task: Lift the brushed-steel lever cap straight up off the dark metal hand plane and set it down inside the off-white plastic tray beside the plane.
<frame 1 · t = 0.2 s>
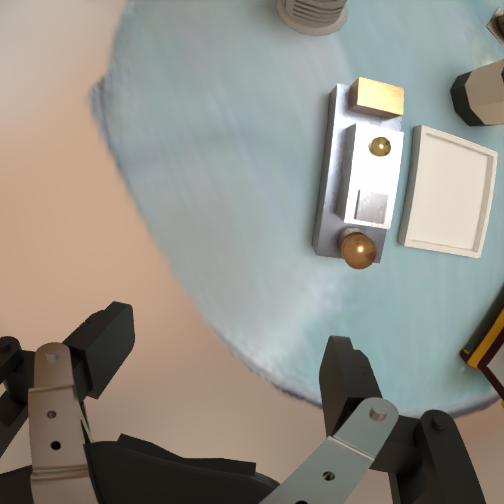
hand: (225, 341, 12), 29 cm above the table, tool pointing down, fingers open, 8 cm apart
plane body: (352, 172, 36), on the table
french press: (305, 7, 30), on the table
lever cap: (363, 174, 32), point 5 cm above the table, touching plane body
tray: (448, 193, 36), on the table
wine bottle: (470, 101, 31), on the table
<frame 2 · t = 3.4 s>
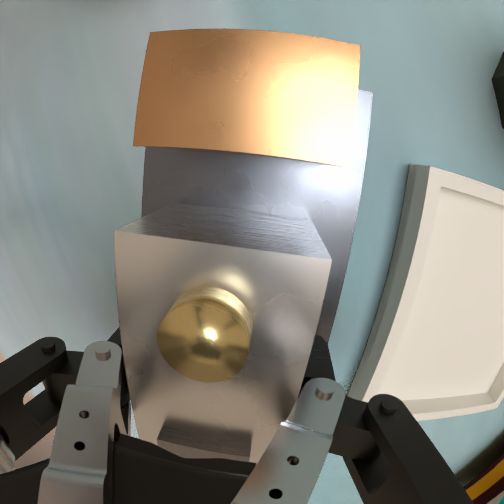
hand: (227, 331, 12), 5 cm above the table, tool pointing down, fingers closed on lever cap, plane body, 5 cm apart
plane body: (245, 284, 17), on the table
lever cap: (228, 330, 12), point 5 cm above the table, touching gripper
tray: (467, 308, 16), on the table
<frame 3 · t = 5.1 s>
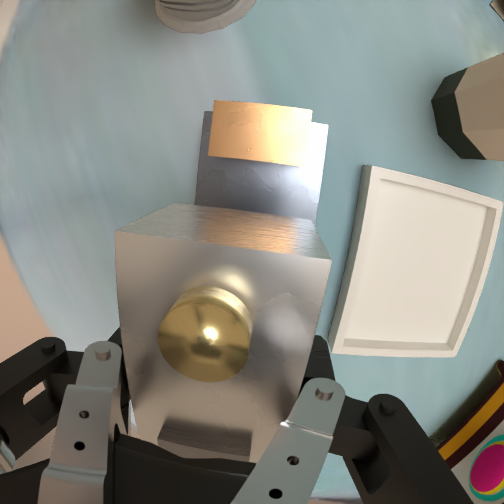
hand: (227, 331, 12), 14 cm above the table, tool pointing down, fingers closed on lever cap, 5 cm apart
plane body: (254, 246, 26), on the table
decorative lantern: (485, 413, 30), on the table
lever cap: (229, 330, 12), point 14 cm above the table, touching gripper
tray: (416, 268, 25), on the table
wine bottle: (465, 117, 21), on the table
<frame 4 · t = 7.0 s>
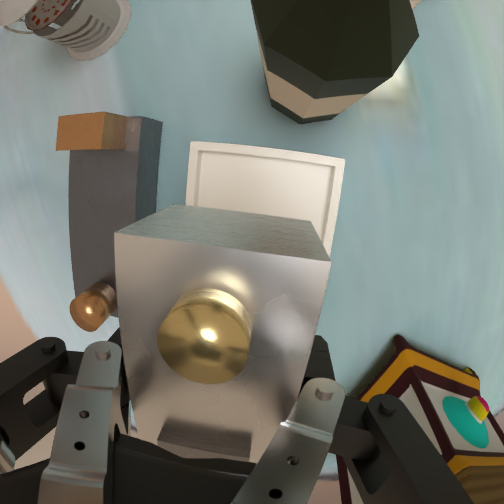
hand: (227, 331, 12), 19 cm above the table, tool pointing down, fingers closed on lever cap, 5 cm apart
plane body: (123, 213, 31), on the table
french press: (91, 28, 25), on the table
decorative lantern: (400, 395, 36), on the table
lever cap: (228, 331, 12), point 19 cm above the table, touching gripper
tray: (258, 228, 31), on the table
wine bottle: (306, 85, 26), on the table
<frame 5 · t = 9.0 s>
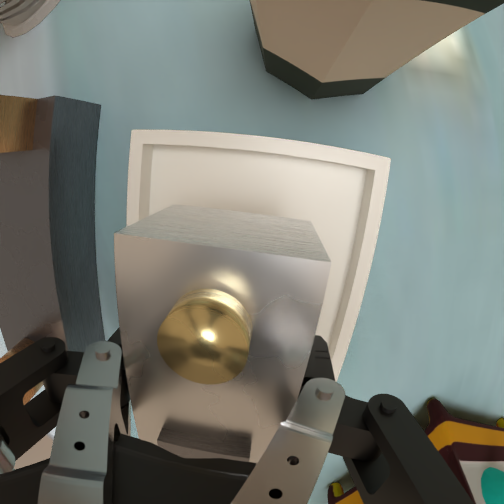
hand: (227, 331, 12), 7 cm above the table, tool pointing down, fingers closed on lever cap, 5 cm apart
plane body: (55, 240, 20), on the table
decorative lantern: (423, 455, 25), on the table
lever cap: (228, 332, 12), point 7 cm above the table, touching gripper
tray: (246, 268, 19), on the table
wine bottle: (322, 41, 15), on the table
when the fingers open (3 cm above the table, at t = 10.5 s): lever cap drops 2 cm, resting on tray.
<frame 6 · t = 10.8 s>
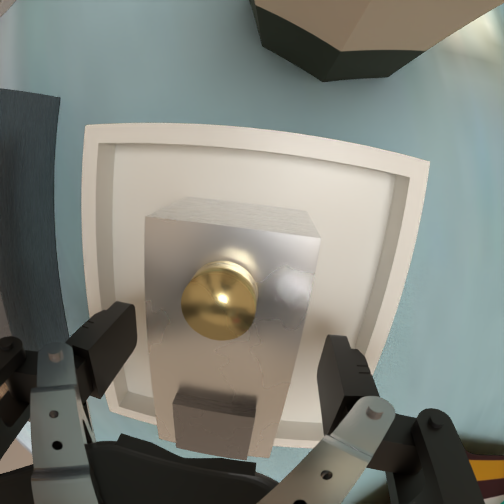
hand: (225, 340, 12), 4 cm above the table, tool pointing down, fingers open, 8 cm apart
plane body: (17, 258, 16), on the table
decorative lantern: (433, 484, 21), on the table
lever cap: (235, 310, 14), point 1 cm above the table, touching tray
tray: (236, 301, 15), on the table
wine bottle: (334, 11, 11), on the table
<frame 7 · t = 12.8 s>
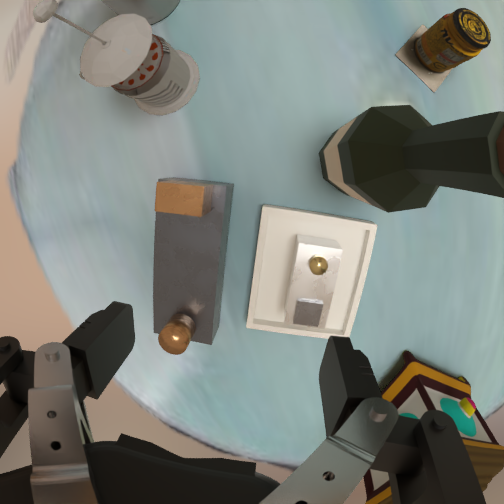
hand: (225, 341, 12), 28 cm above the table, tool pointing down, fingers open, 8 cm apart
plane body: (195, 255, 40), on the table
french press: (158, 82, 35), on the table
decorative lantern: (406, 398, 44), on the table
lever cap: (309, 275, 38), point 1 cm above the table, touching tray
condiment: (427, 57, 30), on the table
tray: (308, 272, 39), on the table
wine bottle: (350, 161, 35), on the table
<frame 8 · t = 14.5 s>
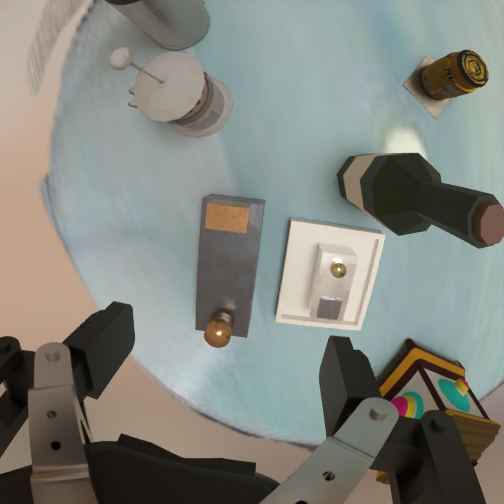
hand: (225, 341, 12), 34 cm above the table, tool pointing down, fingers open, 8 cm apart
plane body: (231, 261, 47), on the table
french press: (194, 106, 41), on the table
decorative lantern: (409, 380, 52), on the table
lever cap: (328, 276, 45), point 1 cm above the table, touching tray
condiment: (431, 85, 36), on the table
tray: (327, 274, 46), on the table
wine bottle: (363, 180, 42), on the table
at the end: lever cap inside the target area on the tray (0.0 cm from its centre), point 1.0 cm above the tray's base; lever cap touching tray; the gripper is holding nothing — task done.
